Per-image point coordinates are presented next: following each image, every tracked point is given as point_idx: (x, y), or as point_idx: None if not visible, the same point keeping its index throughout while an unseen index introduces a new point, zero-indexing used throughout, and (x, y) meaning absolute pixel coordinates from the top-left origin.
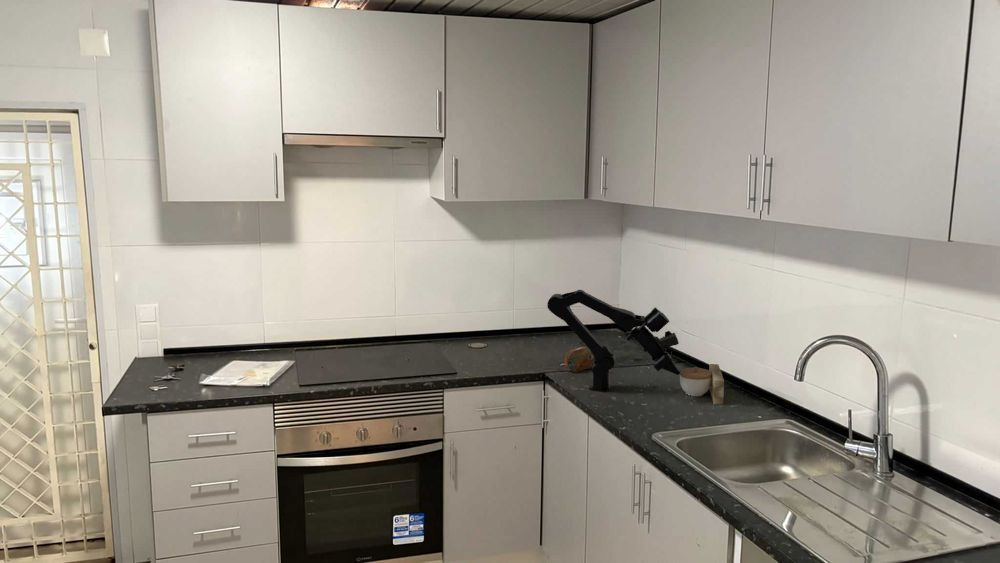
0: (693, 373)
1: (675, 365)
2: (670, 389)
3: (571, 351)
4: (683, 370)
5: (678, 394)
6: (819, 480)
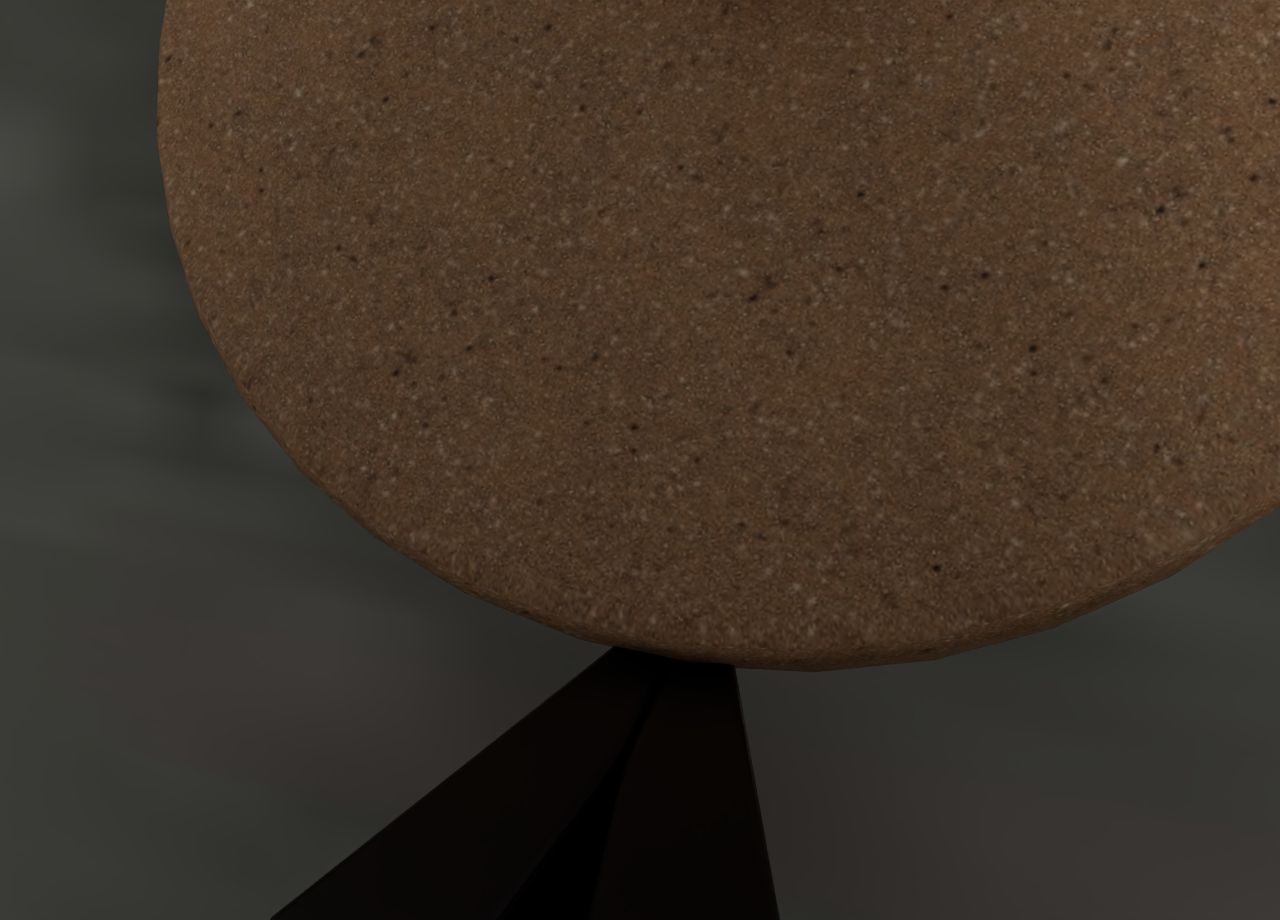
0: (1121, 51)
1: (441, 885)
2: None
3: None
4: (598, 451)
5: (925, 742)
6: None
